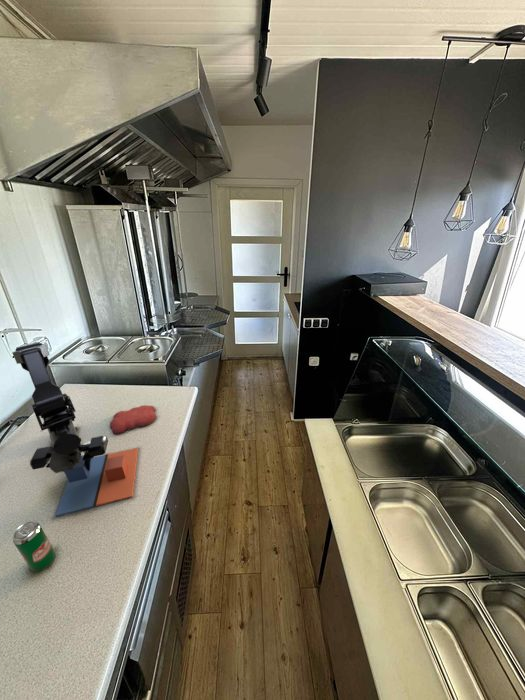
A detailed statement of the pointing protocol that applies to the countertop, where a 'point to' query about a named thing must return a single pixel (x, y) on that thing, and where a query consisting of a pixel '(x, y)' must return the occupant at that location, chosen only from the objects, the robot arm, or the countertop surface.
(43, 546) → the soda can
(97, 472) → the sorting mat
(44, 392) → the robot arm
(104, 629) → the countertop surface
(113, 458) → the terracotta block
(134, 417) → the red lumpy blob
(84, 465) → the slate-blue block
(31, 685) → the countertop surface
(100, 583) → the countertop surface
